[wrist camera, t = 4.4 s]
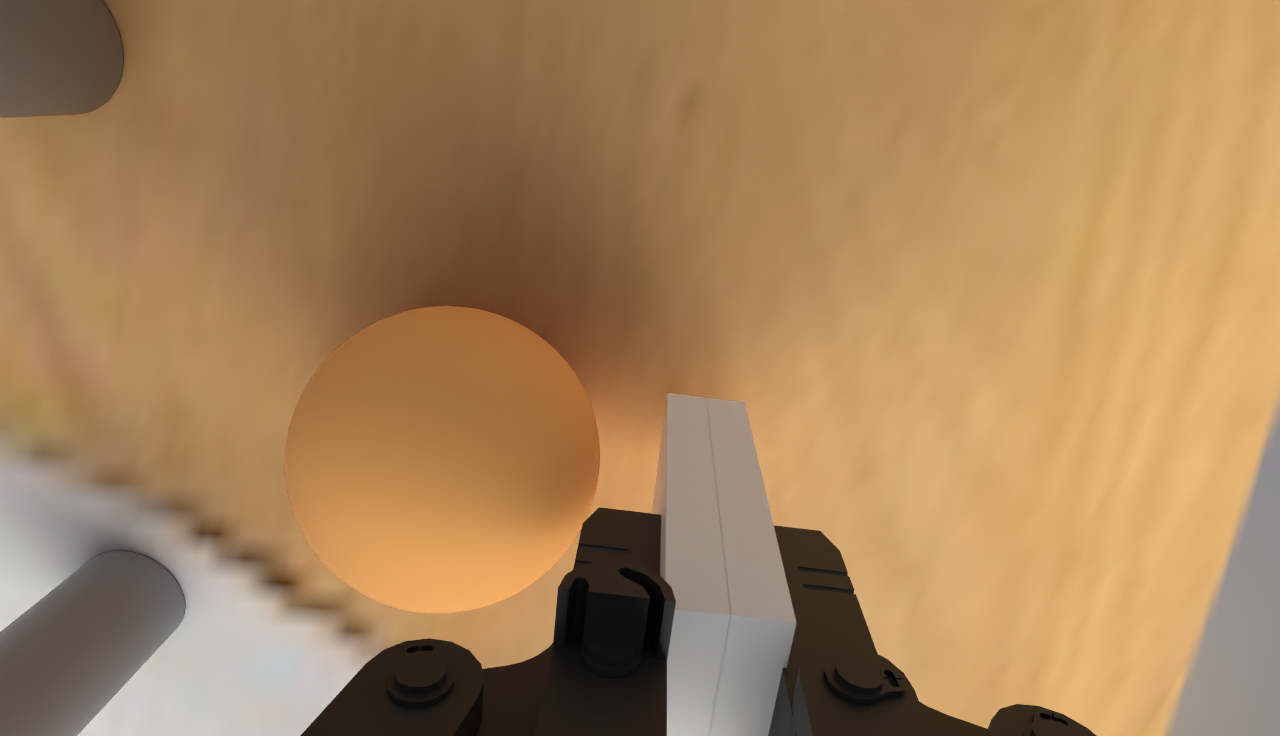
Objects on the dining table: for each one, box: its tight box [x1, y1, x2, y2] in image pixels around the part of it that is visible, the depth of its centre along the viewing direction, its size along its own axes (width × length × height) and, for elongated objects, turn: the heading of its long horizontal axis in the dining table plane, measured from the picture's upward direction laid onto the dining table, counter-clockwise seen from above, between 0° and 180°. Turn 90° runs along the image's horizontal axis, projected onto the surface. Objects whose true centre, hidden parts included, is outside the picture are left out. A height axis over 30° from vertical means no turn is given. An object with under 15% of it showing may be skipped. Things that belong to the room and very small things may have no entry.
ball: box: [285, 306, 600, 613], centre depth 14 cm, size 6×6×6 cm
